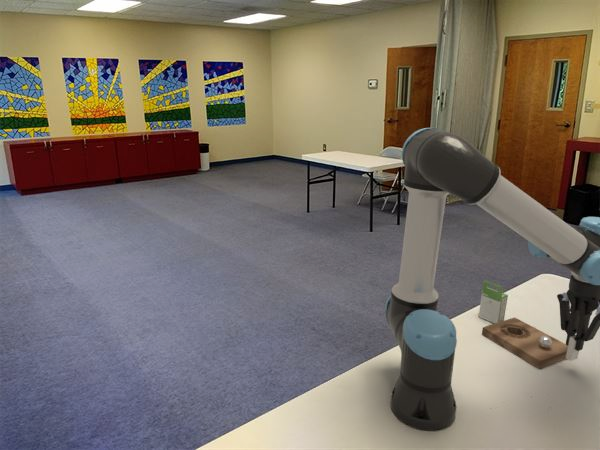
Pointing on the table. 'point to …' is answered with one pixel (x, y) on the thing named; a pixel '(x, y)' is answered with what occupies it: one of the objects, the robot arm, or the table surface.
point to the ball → (545, 342)
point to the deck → (525, 342)
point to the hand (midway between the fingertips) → (571, 358)
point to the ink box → (492, 303)
